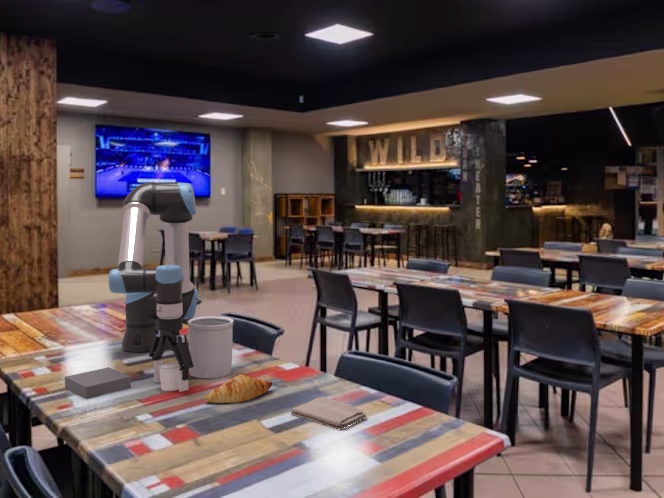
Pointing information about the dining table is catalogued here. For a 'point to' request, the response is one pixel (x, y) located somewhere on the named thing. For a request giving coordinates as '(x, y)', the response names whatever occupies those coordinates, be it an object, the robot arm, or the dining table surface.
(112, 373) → the block
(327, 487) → the dining table surface
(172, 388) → the shot glass
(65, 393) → the dining table surface
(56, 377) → the dining table surface
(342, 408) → the washcloth
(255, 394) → the croissant
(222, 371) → the utensil holder
